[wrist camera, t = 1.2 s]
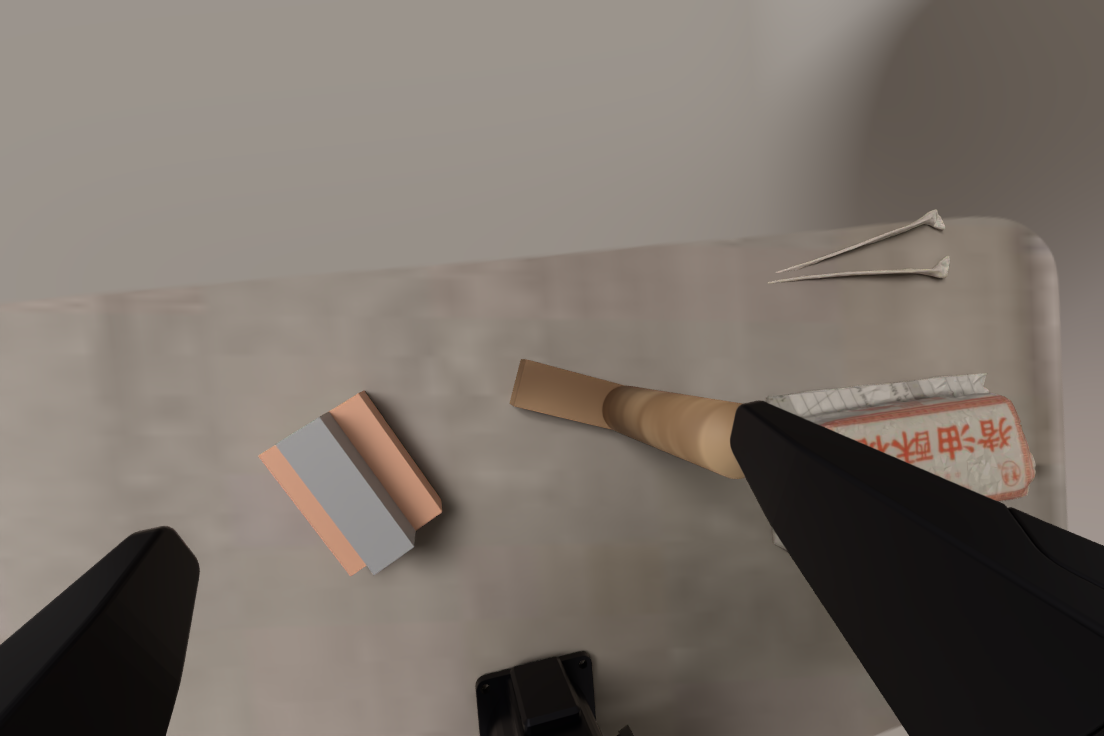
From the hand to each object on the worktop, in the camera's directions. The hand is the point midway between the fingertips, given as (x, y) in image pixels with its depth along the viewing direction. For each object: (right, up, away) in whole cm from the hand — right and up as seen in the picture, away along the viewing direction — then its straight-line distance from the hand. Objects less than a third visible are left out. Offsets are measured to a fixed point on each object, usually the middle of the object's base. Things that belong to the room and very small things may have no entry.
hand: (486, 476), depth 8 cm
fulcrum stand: (-9, -4, +16) cm, 19 cm away
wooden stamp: (+5, 0, +20) cm, 20 cm away
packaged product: (+23, -4, +25) cm, 35 cm away
